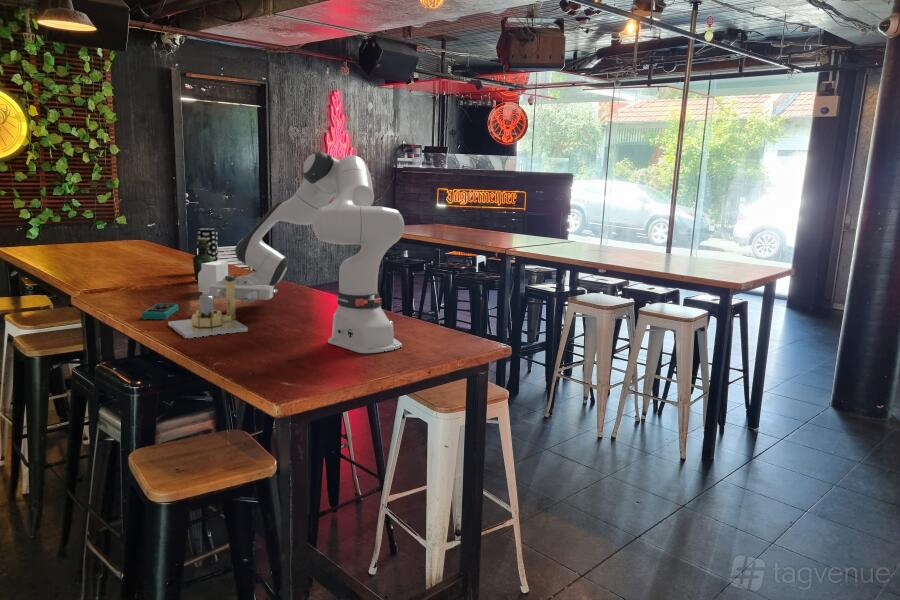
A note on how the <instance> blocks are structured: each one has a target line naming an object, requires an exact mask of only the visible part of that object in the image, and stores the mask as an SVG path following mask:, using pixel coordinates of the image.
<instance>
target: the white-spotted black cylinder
mask: <svg viewBox="0 0 900 600" xmlns="http://www.w3.org/2000/svg"><path fill="white" fill-rule="evenodd" d="M196 233H197V234H196V235H197V237H196V238H197V239H198V238H206V239H207V242H206V244H209V246H210V247H209V248H207V253H206V254H208V255H210V256H212V258H213V262H214V261H219V249H218V248H219V245H218V244H219V242H218V229H217V228H215V227H214V228H213V227H212V228H211V227H210V228H209V227H202V228H197V229H196ZM197 244H199V243H198V242H197ZM198 254H199V251H198V250H197V255H198Z"/></svg>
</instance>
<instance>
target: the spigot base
mask: <svg viewBox="0 0 900 600" xmlns="http://www.w3.org/2000/svg"><path fill="white" fill-rule="evenodd" d="M199 310H200V314H201V318H210V317H211V316H210V314H214V310H215V297H214V295H203V294H201V295H199ZM193 314H196V312H194V313H192V315H193ZM167 323H168V325H167V326H169V327H170V328H171V329H172V328H173V329H172V330H174V332H176V333H178V334H179V335H180V336H181V335H182V338H184V339H185V340H186V338H188V339H195V338H194V337H196V338H203V337H202V336H204V337H210V336H209V335H213V336H218V335H217V334H221V335H227V334H226V333H229V334H236V333H237V332H238V333H244V332H245V333H247V332H249V329H248V326H246V325H245V324H243V323H241V322H240V321H238V320H236V319H234V320H228V321H223V323H222V324H221V325H218V326H213V327H198V326H194V325H192V318H190V319H189V318H187V319H180V320H170V321H167Z"/></svg>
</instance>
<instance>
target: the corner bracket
mask: <svg viewBox="0 0 900 600" xmlns="http://www.w3.org/2000/svg"><path fill="white" fill-rule="evenodd" d="M228 264H229V263H228V260H218V261H214V262H209V263H203V264H201V267H202V270H201V271H200V272H199V273H198V282H197V283H198V293H199V292H202V293H201V295H209V286H210V285H211V284H213V283H215V282H218V281H222V280H223V278H225V276H229V266H228Z"/></svg>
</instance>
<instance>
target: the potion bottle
mask: <svg viewBox="0 0 900 600" xmlns="http://www.w3.org/2000/svg"><path fill="white" fill-rule="evenodd" d="M206 242H207V239H206V238H197V243H195V244H194V247H195V248H196V249H197V252H198V251H199V254H198V253H197V254H196V255H194V256H193V257H192V264H193V272H194V280H197V281H198V273H199V272H200V271H201V270H202V267H201V264H203V263H209V262H213V258H212V256H210V255H208V254H206V253H207V248H209V247H210V246H209V244H206ZM198 243H199V244H198Z"/></svg>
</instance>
